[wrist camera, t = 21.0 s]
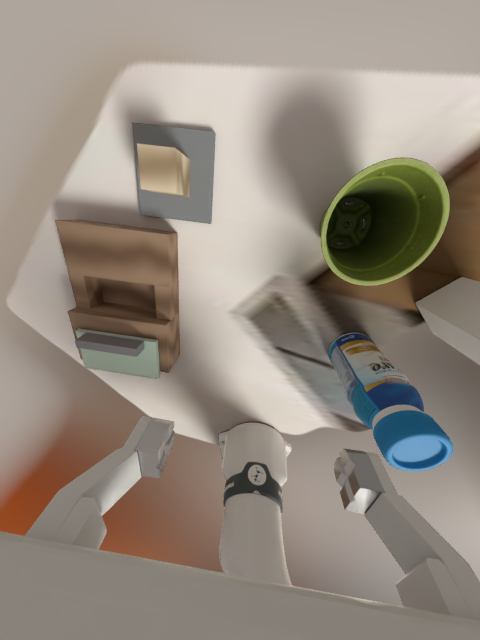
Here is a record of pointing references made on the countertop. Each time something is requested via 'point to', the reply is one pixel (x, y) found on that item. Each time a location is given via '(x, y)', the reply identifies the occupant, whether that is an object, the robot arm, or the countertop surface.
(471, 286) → the milk carton
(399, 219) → the plant pot
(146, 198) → the rubber pad
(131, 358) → the sliding lid
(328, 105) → the countertop surface
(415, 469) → the beverage bottle
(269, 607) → the robot arm
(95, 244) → the puzzle board
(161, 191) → the maple block
